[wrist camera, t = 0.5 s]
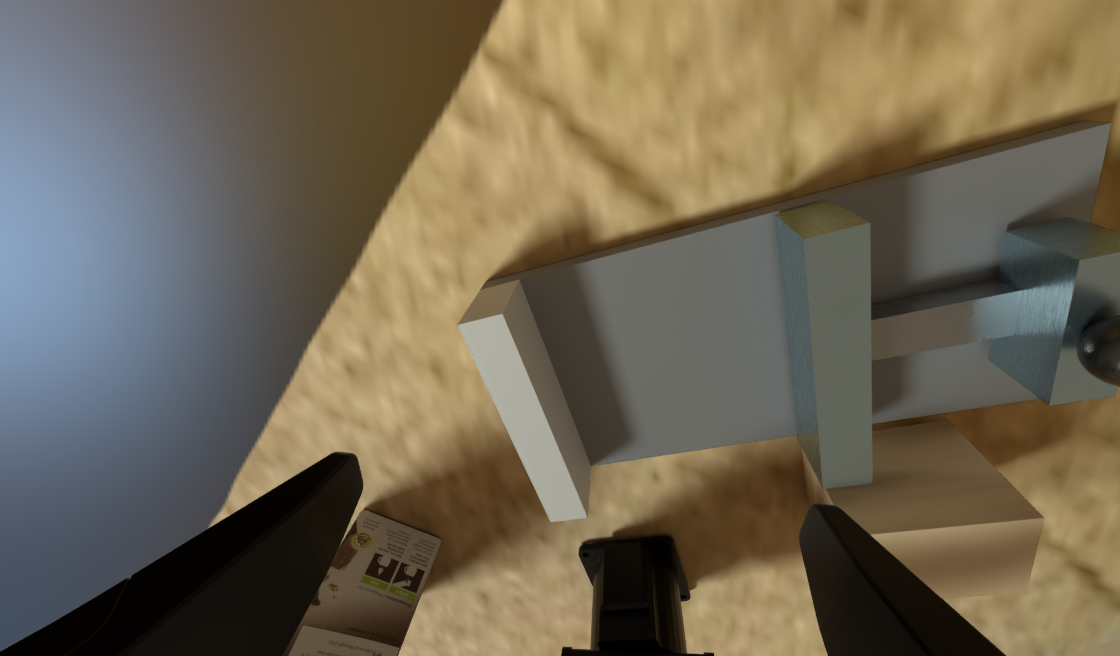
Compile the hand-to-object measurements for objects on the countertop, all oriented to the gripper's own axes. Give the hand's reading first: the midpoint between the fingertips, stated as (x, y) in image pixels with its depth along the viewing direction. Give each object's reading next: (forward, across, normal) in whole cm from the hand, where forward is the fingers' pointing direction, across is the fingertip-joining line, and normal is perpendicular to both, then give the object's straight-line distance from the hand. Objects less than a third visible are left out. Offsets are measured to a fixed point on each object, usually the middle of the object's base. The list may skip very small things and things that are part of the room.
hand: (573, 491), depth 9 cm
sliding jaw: (+12, -14, +1) cm, 18 cm away
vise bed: (+14, -8, +3) cm, 16 cm away
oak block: (+14, -16, +11) cm, 24 cm away
